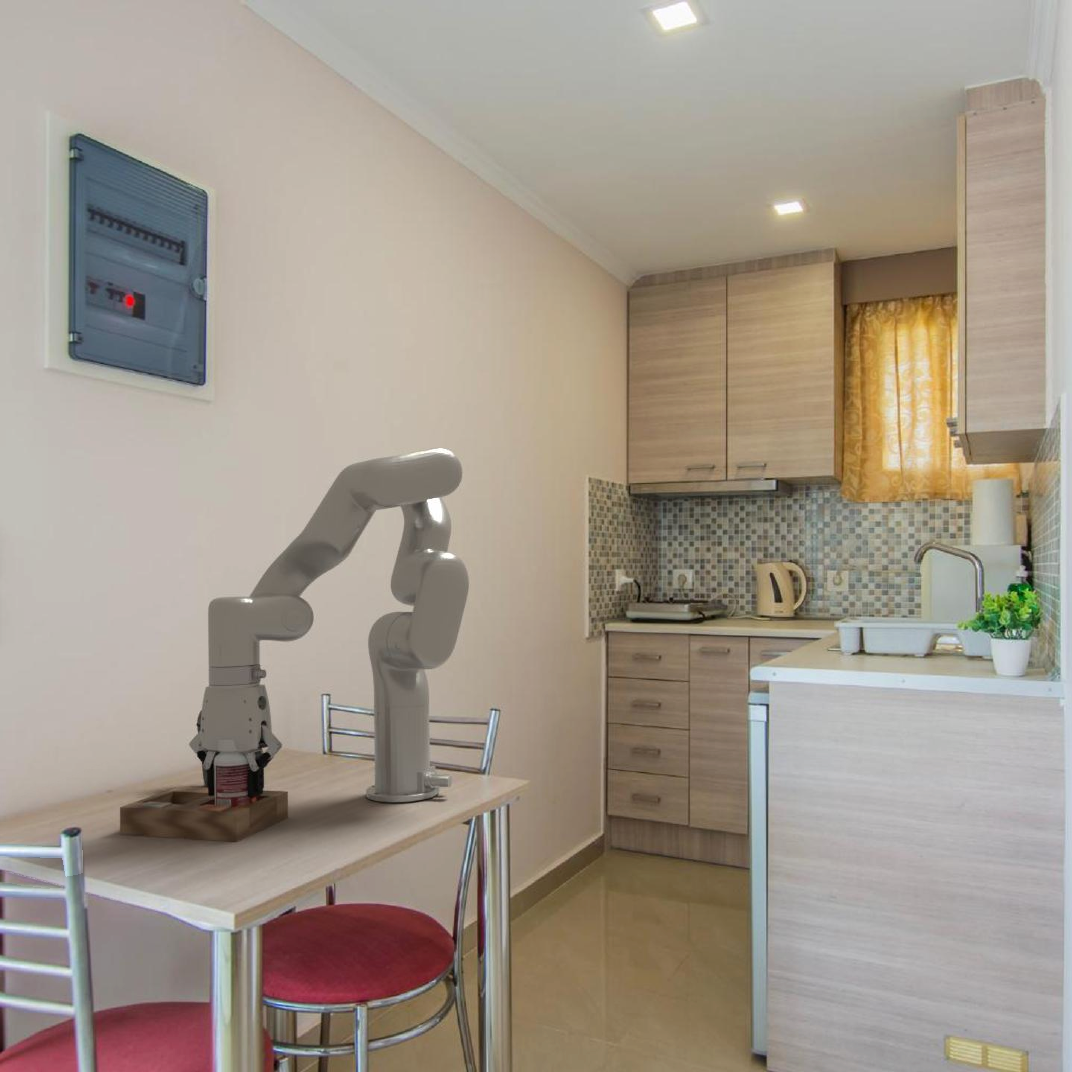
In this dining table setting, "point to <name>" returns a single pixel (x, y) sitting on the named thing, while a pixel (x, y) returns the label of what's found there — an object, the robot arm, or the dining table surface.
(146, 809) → the socket board
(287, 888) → the dining table surface
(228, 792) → the pill bottle
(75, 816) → the dining table surface
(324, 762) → the dining table surface
